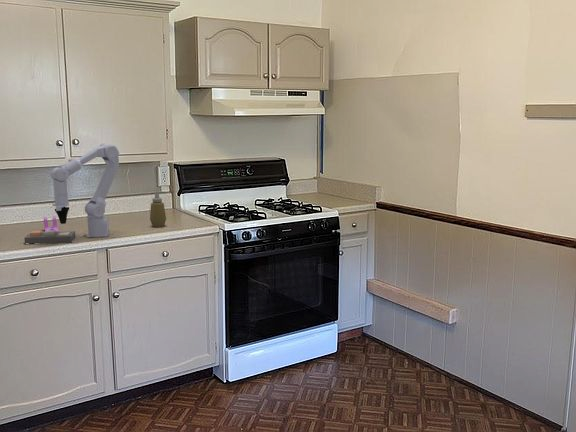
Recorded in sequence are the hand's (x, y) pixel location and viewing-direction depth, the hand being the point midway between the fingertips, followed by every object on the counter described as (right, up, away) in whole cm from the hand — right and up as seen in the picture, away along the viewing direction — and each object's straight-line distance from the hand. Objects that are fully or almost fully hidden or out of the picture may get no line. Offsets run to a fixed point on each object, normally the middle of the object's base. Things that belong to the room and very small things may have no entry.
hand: (63, 223), depth 271 cm
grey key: (-6, -6, 0) cm, 9 cm away
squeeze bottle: (+37, -2, +32) cm, 49 cm away
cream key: (0, -8, +1) cm, 8 cm away
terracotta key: (-12, -7, -1) cm, 14 cm away
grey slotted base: (-6, -8, +1) cm, 10 cm away
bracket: (-13, -5, +20) cm, 24 cm away
